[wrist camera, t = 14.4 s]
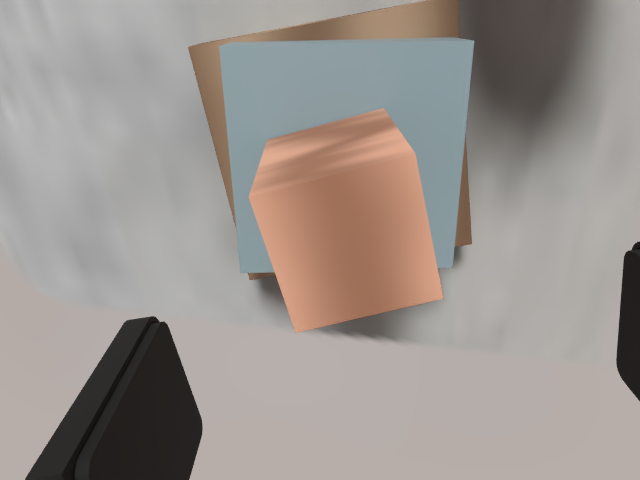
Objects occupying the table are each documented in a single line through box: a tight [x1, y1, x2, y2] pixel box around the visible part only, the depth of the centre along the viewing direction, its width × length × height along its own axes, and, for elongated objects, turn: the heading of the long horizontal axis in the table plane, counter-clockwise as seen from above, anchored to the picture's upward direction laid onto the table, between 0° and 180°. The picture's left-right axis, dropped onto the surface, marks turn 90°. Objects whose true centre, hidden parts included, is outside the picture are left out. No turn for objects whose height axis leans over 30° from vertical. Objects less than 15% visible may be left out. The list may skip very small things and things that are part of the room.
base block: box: [188, 0, 472, 280], centre depth 26 cm, size 12×12×3 cm
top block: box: [219, 37, 474, 273], centre depth 23 cm, size 10×10×3 cm
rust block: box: [249, 108, 443, 333], centre depth 19 cm, size 5×5×7 cm
